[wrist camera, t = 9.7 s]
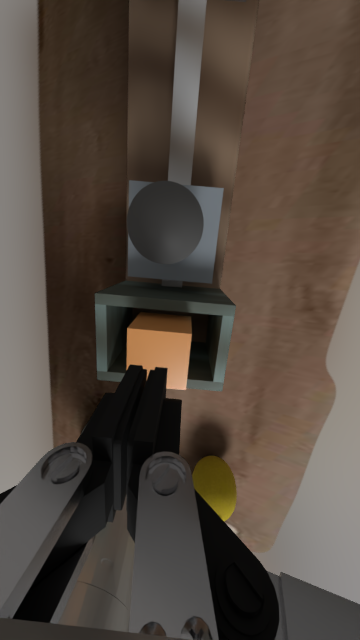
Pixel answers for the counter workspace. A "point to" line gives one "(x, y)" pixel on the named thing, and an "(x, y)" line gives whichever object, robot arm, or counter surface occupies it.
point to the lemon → (216, 485)
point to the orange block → (161, 345)
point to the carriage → (173, 230)
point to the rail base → (211, 107)
